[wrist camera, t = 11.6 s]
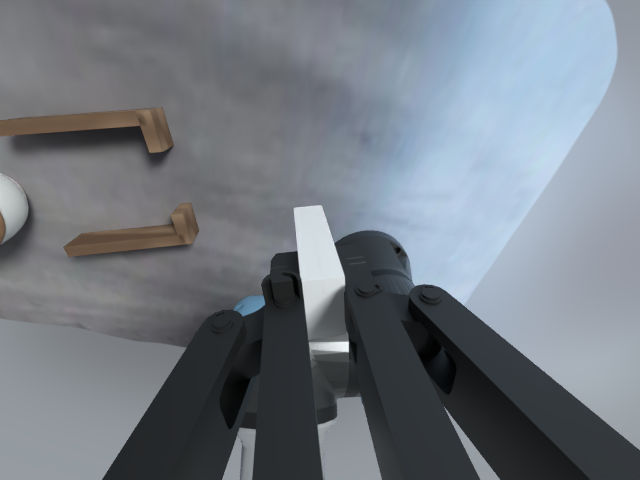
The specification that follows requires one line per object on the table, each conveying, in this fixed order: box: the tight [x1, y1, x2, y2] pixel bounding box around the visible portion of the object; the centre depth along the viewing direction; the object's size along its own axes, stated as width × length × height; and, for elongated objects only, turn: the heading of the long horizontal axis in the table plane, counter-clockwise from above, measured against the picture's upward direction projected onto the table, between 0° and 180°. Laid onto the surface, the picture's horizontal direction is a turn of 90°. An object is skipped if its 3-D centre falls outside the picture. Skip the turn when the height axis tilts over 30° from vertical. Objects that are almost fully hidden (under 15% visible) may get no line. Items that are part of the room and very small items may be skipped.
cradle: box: [0, 108, 199, 257], centre depth 37 cm, size 17×16×4 cm
